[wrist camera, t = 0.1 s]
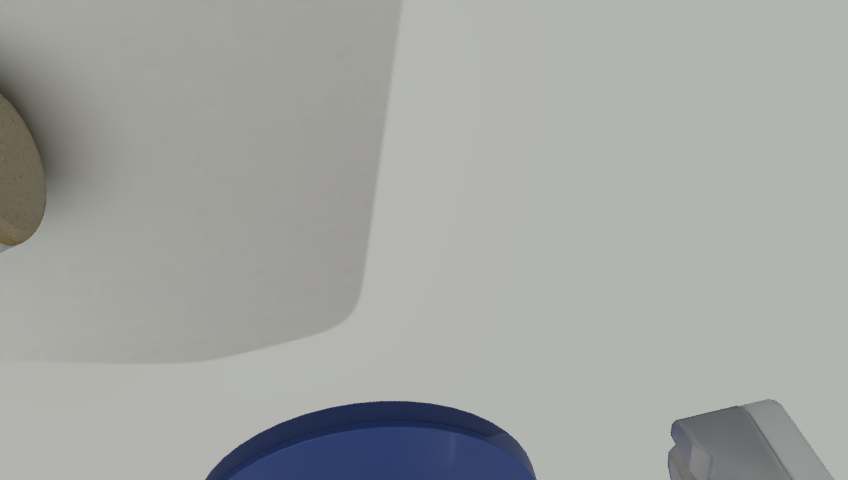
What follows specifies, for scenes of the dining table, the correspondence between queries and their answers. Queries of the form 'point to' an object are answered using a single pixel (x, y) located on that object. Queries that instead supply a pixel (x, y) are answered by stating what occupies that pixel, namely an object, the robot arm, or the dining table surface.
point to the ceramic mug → (19, 179)
